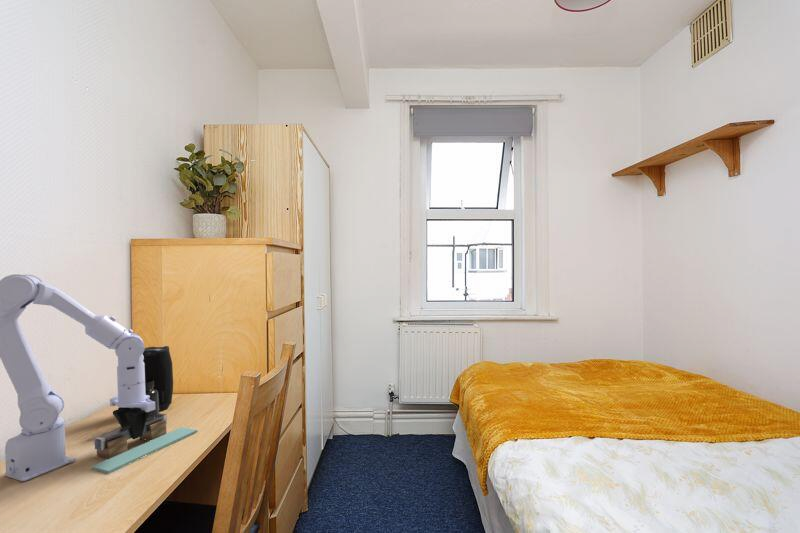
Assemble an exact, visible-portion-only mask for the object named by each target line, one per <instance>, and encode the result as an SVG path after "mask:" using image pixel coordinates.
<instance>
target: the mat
mask: <svg viewBox="0 0 800 533" xmlns="http://www.w3.org/2000/svg"><path fill="white" fill-rule="evenodd" d="M196 433H198V429H195V428H189V427H188V428H187V427H182V426H181V427H178V428H176V429H174V430H172V431H170V432H166V434H165V435H163V436H160V437H158V438H156V439H153V440H151V441H147V442H145V443H142V444H140V445H137V446H135V447H133V448H131V449H129V450H128V449H127V451H126V452H124V453H121V454H119V455H117V456H114V457H112V458H110V459H108V460H107V459H104V460H103V461H101V462H98V463H97V464H94V465H91V470H93V469H94V471H97V470H98V472H101V471H102V472H101V473H104V472H105V473H104V474H108V473H109V474H111V473H113V472H116V471H118V470H120V469H122V468H124V467H126V466H128V465H130V464H129V463H131V464H133V463H135V462H136V461H135V460H137V459H139V460H141V459H142V458H141V457H143V456H145V455H148V454H150V453H152V452H154V451H156V450H158V451H160V450H162V449H164V447H165V448H166V446H167V447H168V445H169V446H170V445H173V444H176V443H177V442H180V441H181V440H184V439H186V438H188V437H190V436H192V435H194V434H196ZM161 448H162V449H161ZM159 449H160V450H159ZM156 452H157V451H156ZM154 453H155V452H154ZM152 454H153V453H152ZM150 455H151V454H150ZM148 456H149V455H148ZM145 457H146V456H145ZM140 458H141V459H140ZM143 458H144V457H143ZM134 461H135V462H134ZM137 461H138V460H137ZM132 462H133V463H132ZM123 466H124V467H123ZM121 467H122V468H121ZM119 468H120V469H119ZM117 469H118V470H117ZM115 470H116V471H115ZM110 472H111V473H110Z"/></svg>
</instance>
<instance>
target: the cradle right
mask: <svg viewBox="0 0 800 533" xmlns="http://www.w3.org/2000/svg"><path fill="white" fill-rule="evenodd" d="M165 434H167V424H166V420H162V421H160V422H157V423H155V424H152V425H150V426H149V431H148V432H145V433H143V435H142V436H141V437H139V438H138V439H140V438H141V439H140V440H142V439H146V440H145V441H147V440H153V439H156V438H158V437H160V436H163V435H165Z"/></svg>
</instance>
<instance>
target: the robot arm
mask: <svg viewBox="0 0 800 533" xmlns="http://www.w3.org/2000/svg"><path fill="white" fill-rule="evenodd" d="M30 304H34V305H39V306H40V305H42V306H49V307H53V308H54V309H56V310H58V311H59V312H61V313H63V314H65V315H66V316H68V317H70V318H71V319H73V320H75V321H76V322H78V323H80V324H82V325H83V326H84V331H85V332H84V333H85V335H88V336H89V337H90V338H92V339H93V340H95V341H96V342H98V343H100V344H101V345H103V346H104V347H106V348H107V349H109V350H114V353H115V355H116V357H117V366H116V377H117V381H116V382H117V396H114V397H112V398H110V399H109V406H110V407H115V406H116V407H117V409H116V410H112V415H113V416H114V417H115V418H116V420H117V422H118V423H119V426H120V428H123V427H126V426H128V425H130V431H131V436H132V438H131V439H132V440H136V439H140V438H139V437H141V436H142V435H143V431H144V427H145V423H146V420H147V418H148V416H149V414H150V412H151V411H152V410H155V402H154V401H151V400H150V399H149V398H150V396H149V395H146V393H145V365H144V362H143V360H144V356H143V352H144V349H145V348H146V346H145V343H144V340H143V338H142V337H140V336H139V334H137V333H133V332H134V330H133V329H131V328H129V329H127V328H126V327H125V326H123V325H121V324H120V323H119V322H117V318H116V317H115V316H114V315H112V316H109V315H107V314H101V315H96V314H94V313H93V312H92V311H91V310H89V309H88V308H87V307H85V306H83V304H81V303H80V302H78V301H77V300H75V299H74V298H73V297H71V296H70V295H68V294H67V293H65V291H62V289H60V288H58V287H56V286H55V285H53V284H51V283H48V282H46V281H43V280H42V279H41V278H40V277H37V276H35V275H34V274H21V273H20V274H19V273H18V274H10V275H7V276H5V277H3V278H1V279H0V361H1V362H2V365H3V367H4V369H5V371H6V373H7V376H8V377H9V379H10V381H11V384H12V385H13V387H14V390H15V391H16V394H17V407H18V409H19V411H20V416H19V420H18V422H19V426H20V427H21V428H22V429H21V431H20V433H19V434H18V435H16V436H13V437H11V438H8V439H7V440H6V443H5V448H4V451H5V452H4V453H5V454H4V456H5V472H4V474H3V475H4V476H5V477H8V478H11V479H13V480H17V481H20V482H26V481H29V480H30V479H33V478H36V477H38V476H41V475H43V474H46V473H48V472H51V471H52V470H55V469H58V468H61V467H63V466H65V465H67V464H70V463H73V462H74V461H76V459H75V458H74V457H70V456H67V455H66V432H65V429H66V428H65V427H66V426H65V420H64V419H63V418H62V417H61V416H60V414H61V413H62V412H63V410H64V408H65V401H64V398H62V396H61V395H59V394H57V393H56V392H55V391H54V390H53V388H52V386H51V385H50V384H49V383H48V382H47V381H46V378H45V377H44V375H43V373H42V372H43V371H42V370H41V367H40V365H39V364H38V362H37V359H36V357H35V355H34V353H33V350H32V349H31V346H30V344H29V342H28V340H27V337H26V336H25V333H24V331H23V329H22V327H21V325H20V322H19V320H18V319H19V317H20V316H21V315H22V313H23V312H24V310H26V309H27V306H28V307H29V305H30Z"/></svg>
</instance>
